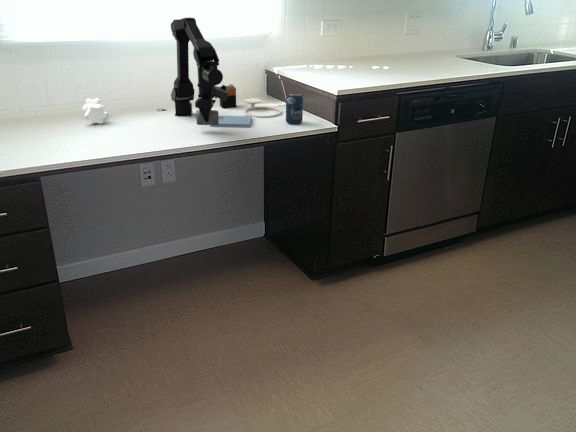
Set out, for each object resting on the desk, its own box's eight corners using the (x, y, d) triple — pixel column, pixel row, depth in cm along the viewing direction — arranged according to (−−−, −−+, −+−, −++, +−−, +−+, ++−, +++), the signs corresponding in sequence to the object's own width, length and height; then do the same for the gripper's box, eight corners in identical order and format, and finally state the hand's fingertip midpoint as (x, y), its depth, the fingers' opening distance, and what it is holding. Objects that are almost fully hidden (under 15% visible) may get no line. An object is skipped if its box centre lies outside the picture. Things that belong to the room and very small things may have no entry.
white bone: (107, 125, 222) (107, 105, 219) (85, 125, 219) (84, 105, 216) (104, 116, 235) (103, 97, 232) (82, 116, 232) (81, 97, 228)
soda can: (292, 126, 224) (293, 97, 219) (282, 122, 229) (282, 93, 224) (305, 123, 228) (306, 94, 223) (295, 120, 233) (295, 91, 228)
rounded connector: (196, 124, 211) (195, 112, 209) (197, 122, 214) (196, 109, 212) (223, 125, 211) (223, 112, 209) (224, 122, 215) (223, 110, 212)
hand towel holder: (257, 110, 230) (232, 100, 245) (257, 120, 232) (232, 110, 247) (289, 105, 239) (263, 96, 254) (289, 115, 241) (263, 105, 256)
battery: (236, 107, 251) (236, 85, 247) (222, 108, 248) (221, 86, 244) (233, 105, 255) (233, 83, 250) (219, 106, 252) (218, 84, 248)
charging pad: (210, 126, 221) (210, 123, 221) (214, 118, 233) (214, 115, 232) (249, 127, 221) (249, 124, 221) (251, 118, 233) (251, 116, 233)
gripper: (224, 85, 197) (225, 127, 204) (229, 75, 214) (230, 114, 221) (193, 85, 197) (196, 127, 204) (201, 75, 214) (202, 114, 221)
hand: (207, 120), depth 212 cm, fingers closed on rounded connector, 4 cm apart
